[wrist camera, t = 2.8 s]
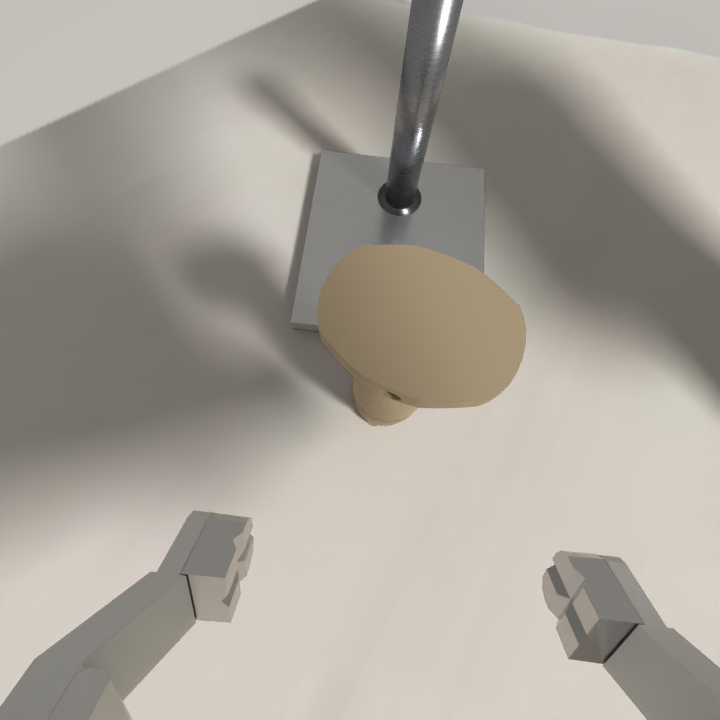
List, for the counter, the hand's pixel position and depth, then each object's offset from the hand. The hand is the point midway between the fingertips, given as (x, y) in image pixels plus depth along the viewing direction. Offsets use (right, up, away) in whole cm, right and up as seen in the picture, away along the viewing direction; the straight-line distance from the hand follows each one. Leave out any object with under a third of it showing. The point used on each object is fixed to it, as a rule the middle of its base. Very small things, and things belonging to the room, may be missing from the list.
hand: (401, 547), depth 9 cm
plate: (+2, +14, +20) cm, 24 cm away
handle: (0, +2, +16) cm, 16 cm away
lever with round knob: (+2, +18, +20) cm, 27 cm away
